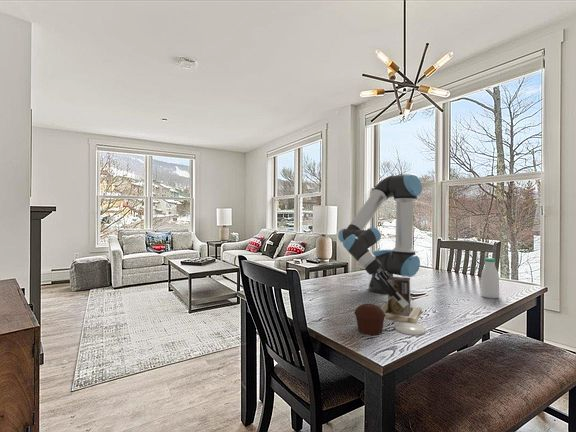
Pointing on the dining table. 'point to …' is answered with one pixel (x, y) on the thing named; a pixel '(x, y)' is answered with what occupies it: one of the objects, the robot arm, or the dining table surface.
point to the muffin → (369, 319)
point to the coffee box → (403, 289)
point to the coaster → (410, 328)
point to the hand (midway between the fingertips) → (407, 303)
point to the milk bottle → (490, 279)
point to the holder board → (411, 319)
